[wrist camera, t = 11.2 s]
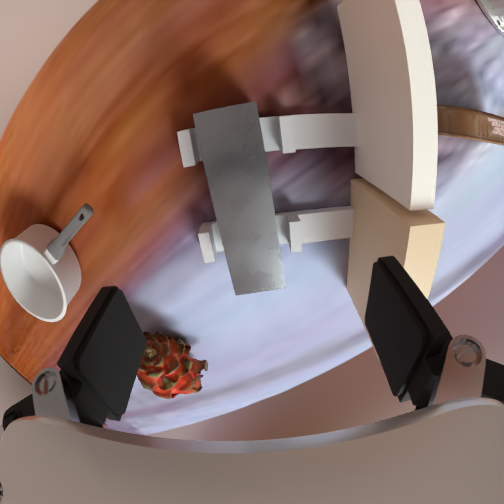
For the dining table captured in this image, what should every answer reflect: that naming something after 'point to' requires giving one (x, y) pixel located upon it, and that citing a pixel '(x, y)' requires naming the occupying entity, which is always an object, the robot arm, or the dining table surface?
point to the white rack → (367, 150)
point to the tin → (470, 124)
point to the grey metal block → (241, 195)
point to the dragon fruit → (169, 367)
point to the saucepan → (43, 267)
